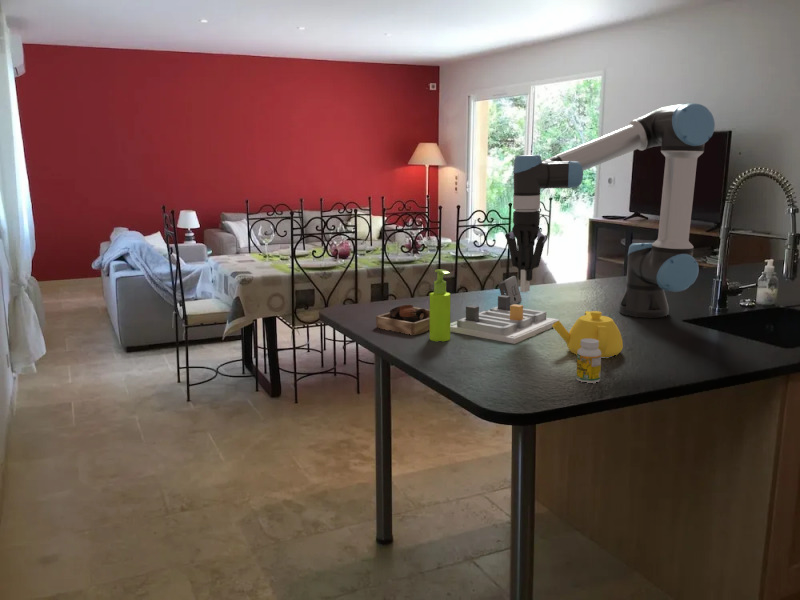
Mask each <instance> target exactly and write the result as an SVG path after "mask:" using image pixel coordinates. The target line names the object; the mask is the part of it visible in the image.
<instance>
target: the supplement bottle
mask: <svg viewBox="0 0 800 600" xmlns="http://www.w3.org/2000/svg"><path fill="white" fill-rule="evenodd" d="M580 345H581V348H580V349H578V351H577V355H576V380H577V381H578V380H579V381H581V382H580V383H582V382H587V383H586V384H588V383H593V384H597V383H596V382H598V383H599V382H600V381H601V372H602V370H601V368H602V359H601V351H600V350H599V349H598V346H599V341H598V340H596V339H590V338H586V339H581V344H580ZM579 381H578V382H579Z"/></svg>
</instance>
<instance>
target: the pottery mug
mask: <svg viewBox="0 0 800 600" xmlns="http://www.w3.org/2000/svg"><path fill="white" fill-rule="evenodd" d="M413 307H414V305H412V304H405V305H400V306H395V307H393V308H392V309H389V312H390V314H391V315H390V317H389V318H391V319H397V320H402V321H407V322H413V323H414V322H417V321H420V320H423V319H427V318H428V315H429V314H428V313H427V310H426V309H427V308H422V309H418V310H415V309H413ZM415 313H416V315H415ZM422 313H423V314H424V316H423V318H422V319H420V315H421V314H422Z"/></svg>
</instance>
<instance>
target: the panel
mask: <svg viewBox="0 0 800 600" xmlns="http://www.w3.org/2000/svg"><path fill="white" fill-rule="evenodd" d="M557 321H560V322H561V320H560V319H558V318H553V317H547V311H542V310H535V309H530V308H529V309H528V308H523V319H522V320H520V321H519V320H513V319H510V311H507V310H501V309H498V305H497V306H495V307H492V308H489V309H488V310H487V309H486V310H483V311H481V312H480V311H479V322H473V321H468V320H466V316H465V317H462V318H460V319H457V320H456V321H453V322H450V333H456V334H462V335H467V336H473V337H478V338H483V339H488V340H493V341H499V342H503V343H509V344H513V345H514V344H517V343H520V342H523V341H524V340H526V339H529V338H531V337H534V336H536V335H538V334H541V333H542V332H544V331H547V330H550V329H552V328H553V327H552V325H553V324H554V323H555V322H557Z"/></svg>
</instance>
